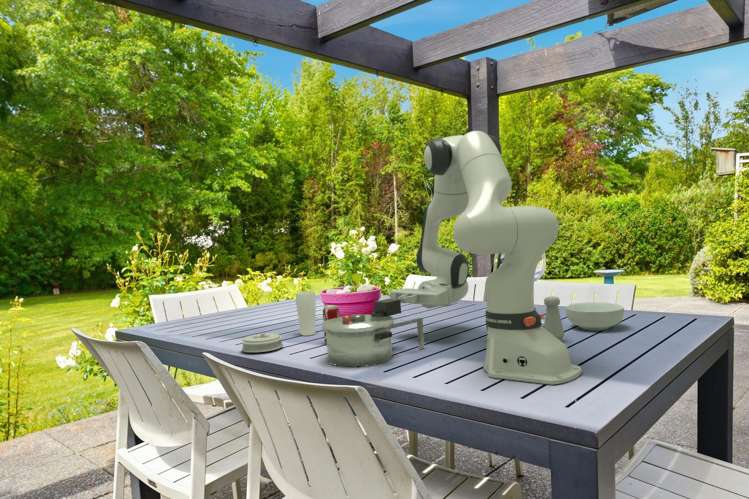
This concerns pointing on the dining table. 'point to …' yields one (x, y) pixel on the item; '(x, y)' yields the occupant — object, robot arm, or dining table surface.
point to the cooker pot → (366, 345)
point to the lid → (262, 342)
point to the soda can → (330, 315)
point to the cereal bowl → (595, 315)
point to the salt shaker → (553, 317)
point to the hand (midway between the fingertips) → (401, 300)
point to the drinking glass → (306, 312)
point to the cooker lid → (365, 319)
